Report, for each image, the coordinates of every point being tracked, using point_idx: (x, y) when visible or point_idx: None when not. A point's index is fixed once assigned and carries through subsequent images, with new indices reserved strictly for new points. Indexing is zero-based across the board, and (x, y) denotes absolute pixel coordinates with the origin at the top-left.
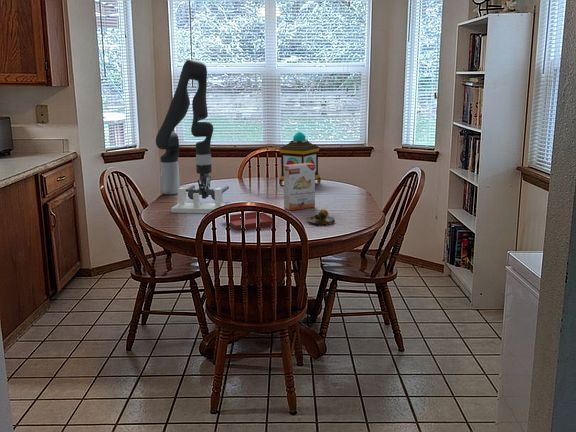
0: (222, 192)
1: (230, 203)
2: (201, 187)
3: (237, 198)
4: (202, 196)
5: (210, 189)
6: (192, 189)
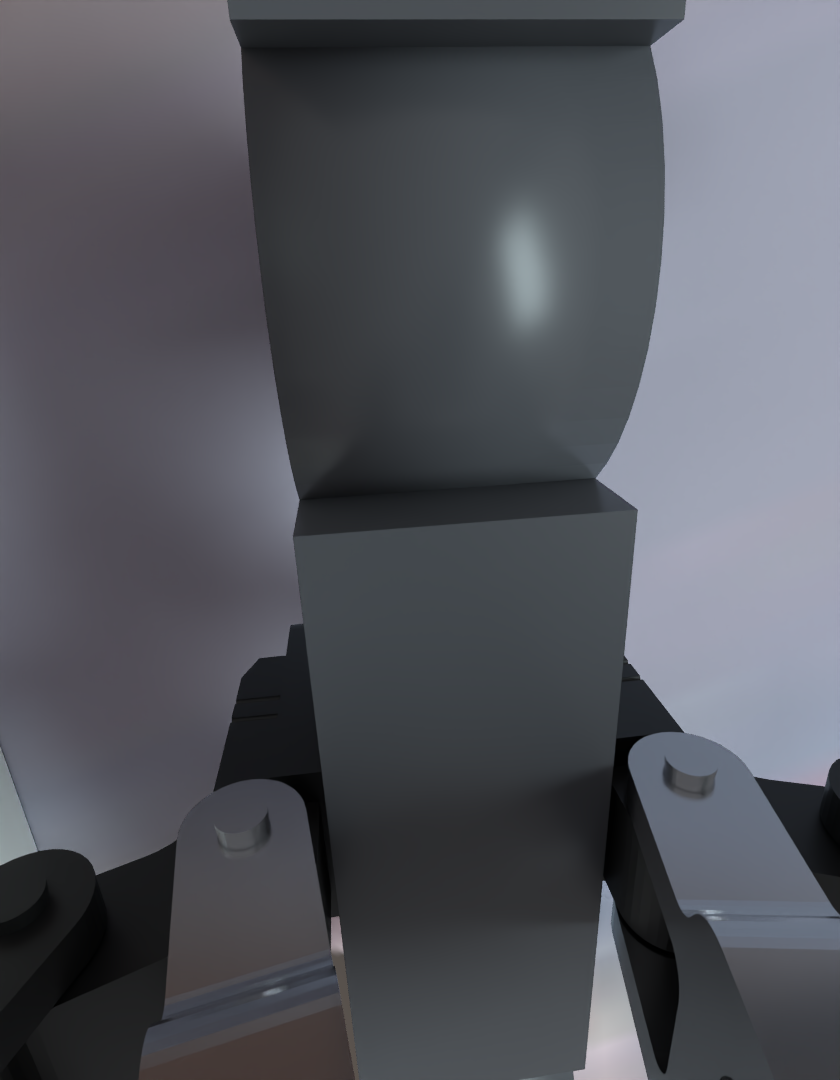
0: None
1: None
2: (174, 993)
3: None
4: (243, 695)
5: (492, 1026)
6: (344, 254)
